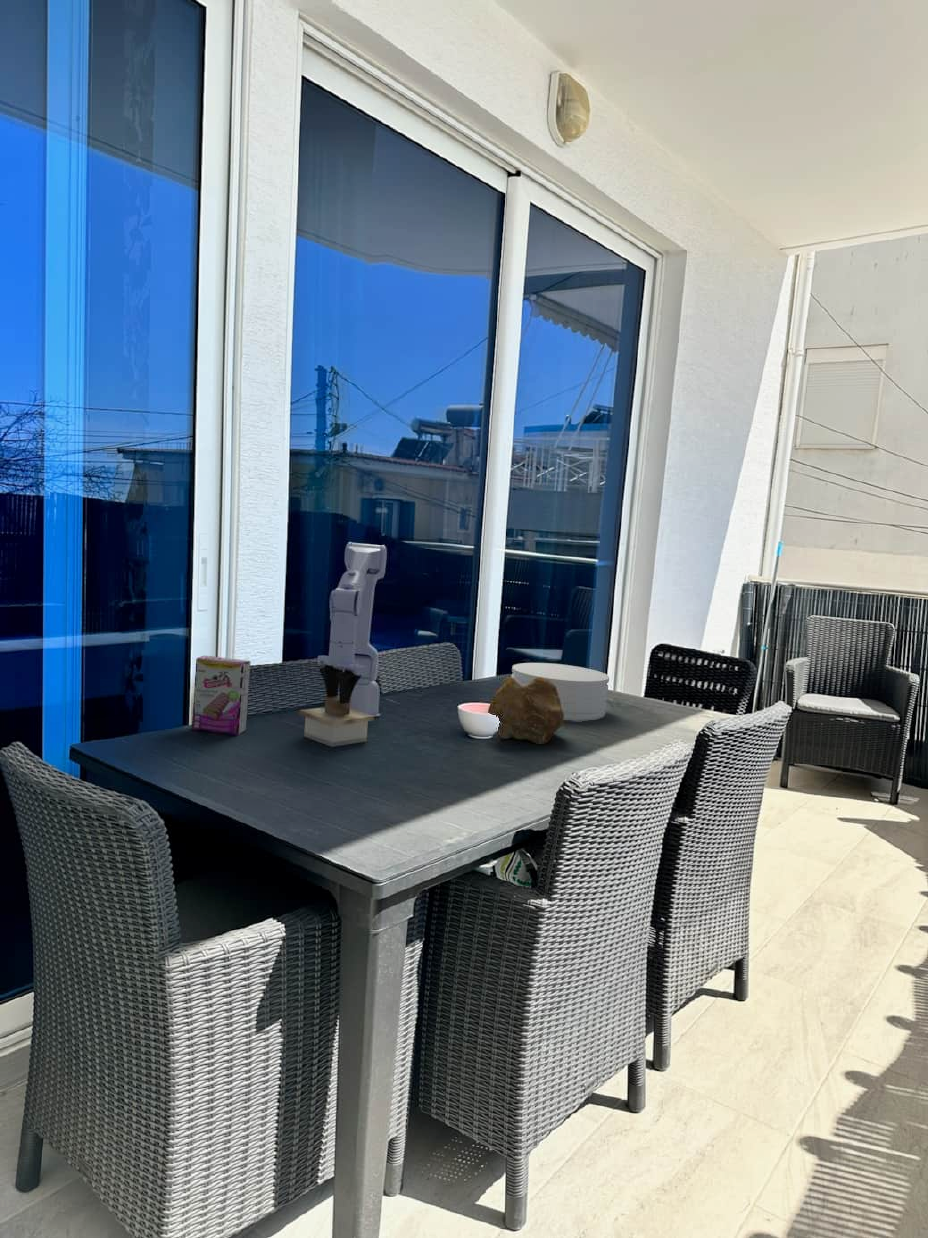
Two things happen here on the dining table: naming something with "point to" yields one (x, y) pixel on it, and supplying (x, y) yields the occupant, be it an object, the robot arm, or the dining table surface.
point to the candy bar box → (221, 695)
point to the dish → (335, 732)
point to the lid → (336, 713)
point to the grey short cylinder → (569, 687)
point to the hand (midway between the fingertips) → (338, 700)
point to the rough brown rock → (527, 710)
